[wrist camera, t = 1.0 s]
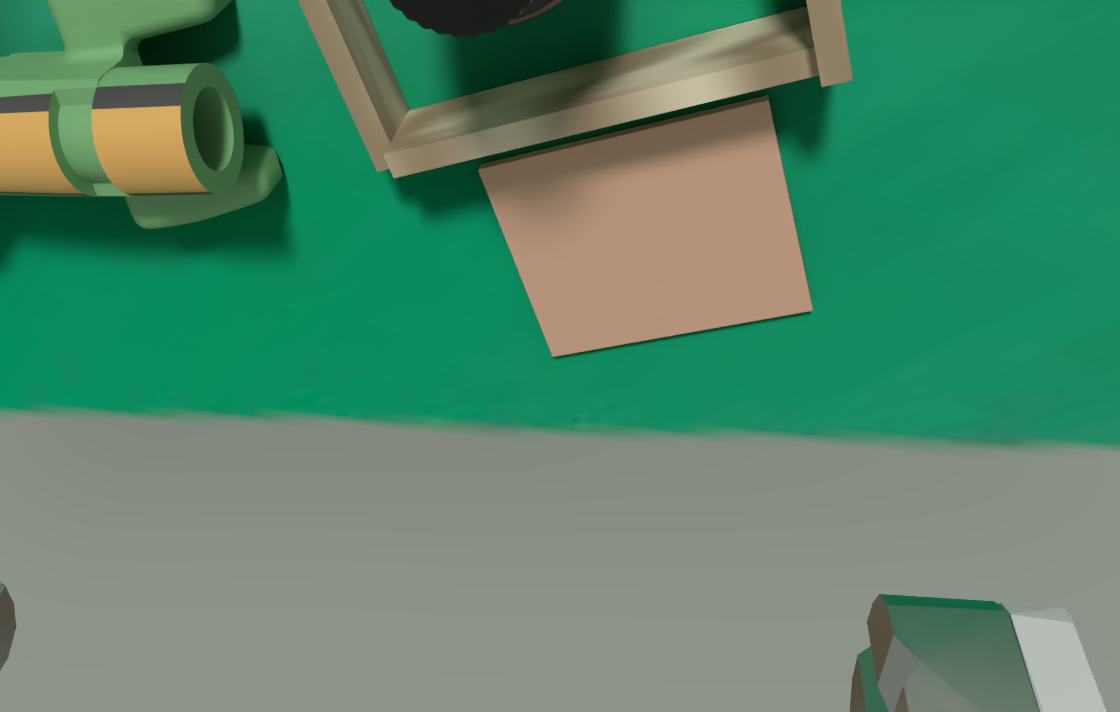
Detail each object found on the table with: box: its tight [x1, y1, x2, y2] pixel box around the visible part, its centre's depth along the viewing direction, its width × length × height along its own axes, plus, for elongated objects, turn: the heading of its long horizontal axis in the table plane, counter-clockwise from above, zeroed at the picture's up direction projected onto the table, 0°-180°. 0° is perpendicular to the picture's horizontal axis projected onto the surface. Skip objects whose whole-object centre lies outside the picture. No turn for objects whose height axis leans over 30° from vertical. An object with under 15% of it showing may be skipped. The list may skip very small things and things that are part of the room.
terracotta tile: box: [478, 95, 813, 357], centre depth 44 cm, size 12×10×1 cm
